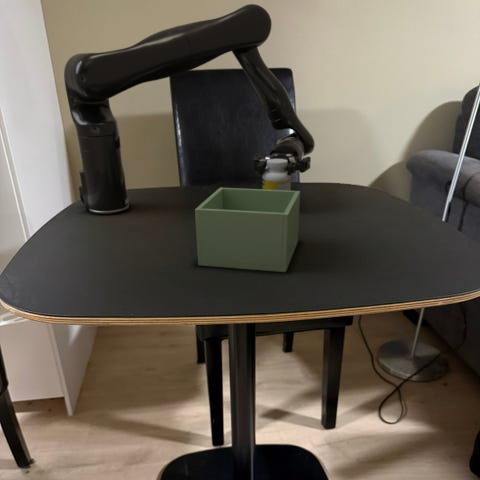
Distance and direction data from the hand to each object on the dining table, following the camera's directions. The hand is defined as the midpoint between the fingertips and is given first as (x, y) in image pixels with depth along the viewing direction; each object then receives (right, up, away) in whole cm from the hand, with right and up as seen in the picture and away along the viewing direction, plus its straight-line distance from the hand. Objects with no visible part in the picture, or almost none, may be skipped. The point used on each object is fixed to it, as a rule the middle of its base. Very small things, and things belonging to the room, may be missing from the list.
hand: (275, 170), depth 106 cm
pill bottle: (+1, -8, +7) cm, 10 cm away
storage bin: (-6, -21, -17) cm, 27 cm away
